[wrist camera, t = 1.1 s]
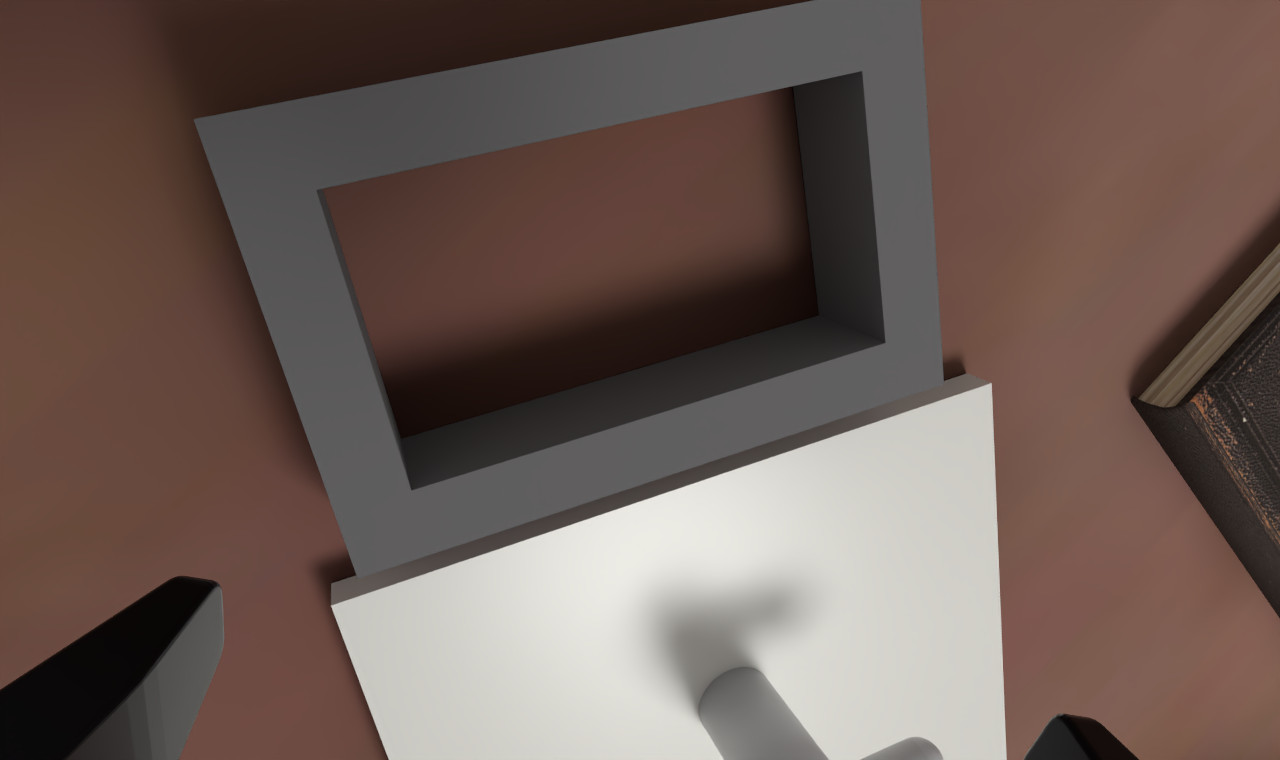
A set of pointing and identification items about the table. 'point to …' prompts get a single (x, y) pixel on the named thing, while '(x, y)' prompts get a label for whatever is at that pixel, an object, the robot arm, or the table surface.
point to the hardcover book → (1230, 421)
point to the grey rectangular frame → (632, 401)
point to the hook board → (716, 610)
